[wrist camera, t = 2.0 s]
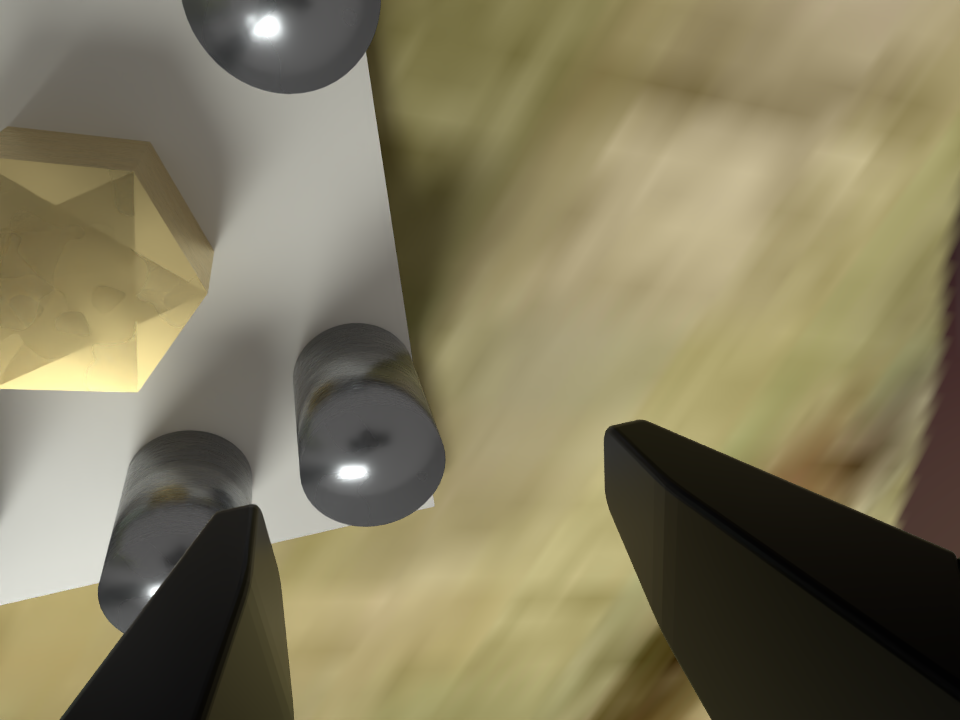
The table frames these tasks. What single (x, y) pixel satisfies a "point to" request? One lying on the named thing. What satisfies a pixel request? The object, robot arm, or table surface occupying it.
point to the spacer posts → (318, 370)
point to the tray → (234, 275)
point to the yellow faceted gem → (92, 261)
